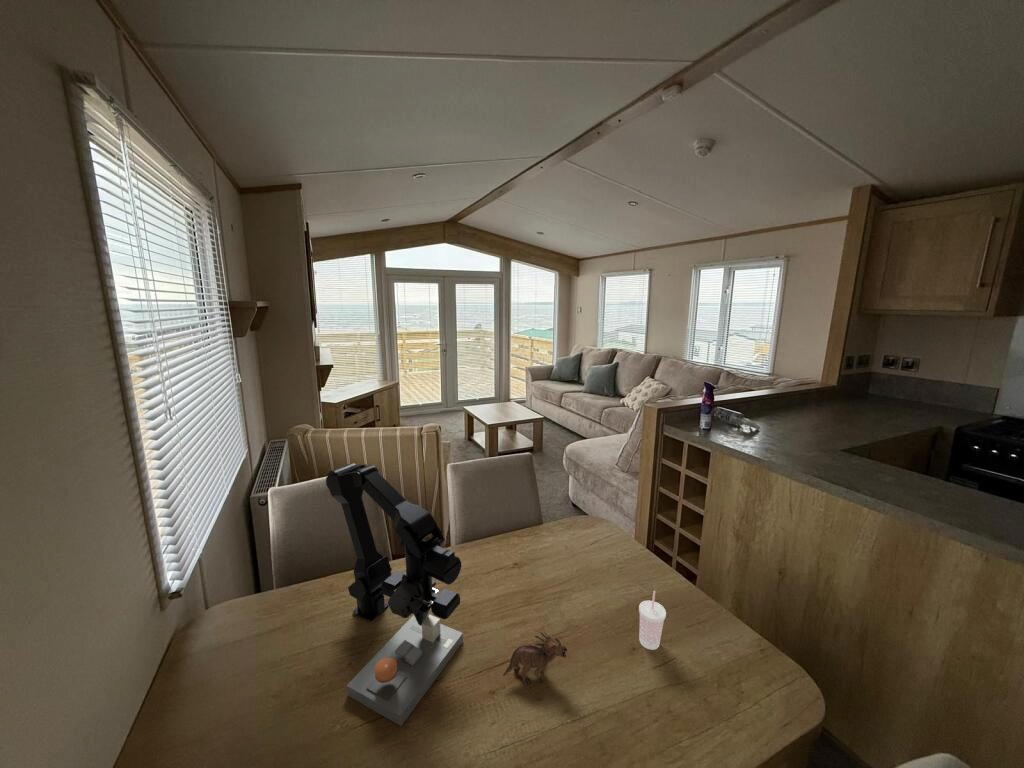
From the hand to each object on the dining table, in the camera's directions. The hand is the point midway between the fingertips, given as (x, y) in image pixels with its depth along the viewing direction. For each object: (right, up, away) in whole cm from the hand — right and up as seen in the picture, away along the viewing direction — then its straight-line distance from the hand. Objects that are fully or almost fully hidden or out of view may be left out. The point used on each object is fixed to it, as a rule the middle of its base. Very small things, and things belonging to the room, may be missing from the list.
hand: (421, 624), depth 98 cm
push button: (-4, -3, -13) cm, 14 cm away
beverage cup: (+54, -5, +2) cm, 55 cm away
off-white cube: (+3, -2, -1) cm, 3 cm away
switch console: (-1, -6, -6) cm, 9 cm away
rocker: (-1, -2, -7) cm, 7 cm away
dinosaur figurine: (+26, -7, -7) cm, 28 cm away
